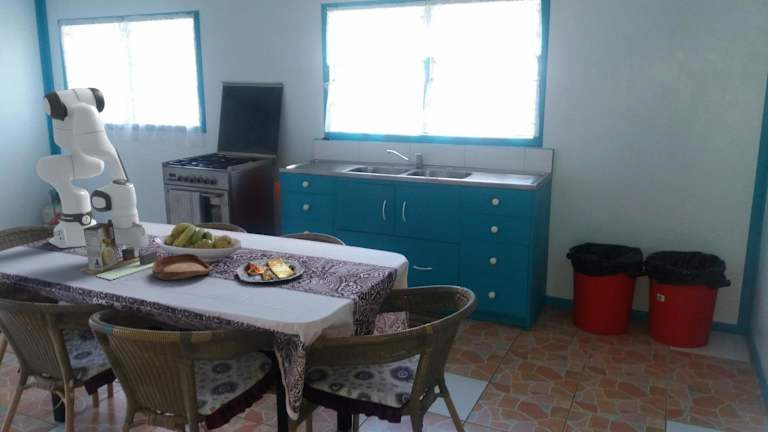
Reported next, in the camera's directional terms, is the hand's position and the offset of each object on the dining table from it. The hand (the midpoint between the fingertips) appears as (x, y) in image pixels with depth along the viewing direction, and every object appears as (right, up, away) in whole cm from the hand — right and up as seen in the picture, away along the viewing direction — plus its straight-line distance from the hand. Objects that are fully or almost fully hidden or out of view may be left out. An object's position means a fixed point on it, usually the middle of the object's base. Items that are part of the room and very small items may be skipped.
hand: (130, 255), depth 241 cm
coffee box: (-6, -4, -9) cm, 12 cm away
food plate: (+59, -6, -18) cm, 62 cm away
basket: (+26, -6, -17) cm, 32 cm away
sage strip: (+5, -5, -12) cm, 14 cm away
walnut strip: (-4, -4, -6) cm, 8 cm away
